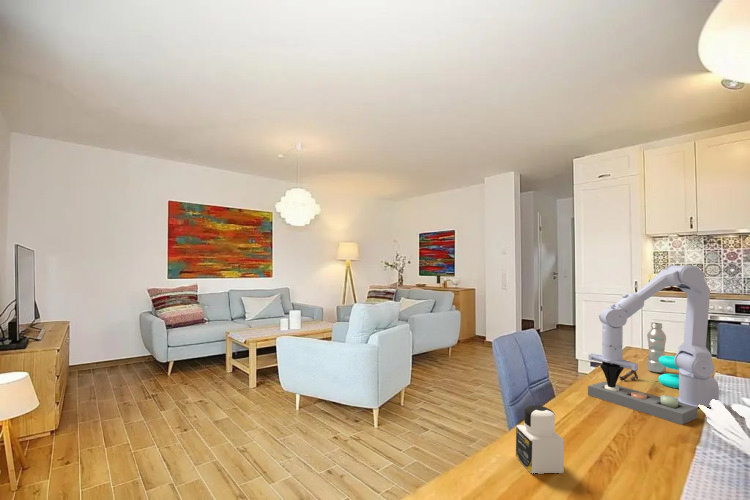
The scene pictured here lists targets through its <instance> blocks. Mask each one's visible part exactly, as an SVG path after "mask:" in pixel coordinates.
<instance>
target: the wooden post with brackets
mask: <svg viewBox="0 0 750 500" xmlns="http://www.w3.org/2000/svg"><path fill="white" fill-rule="evenodd" d="M637 371H638V370H635V371H634V370H631V369H630V371H628V372H627V373H626V374H624V375H619V377H618V378H619V379H620V381H622V380H624V381H623V382H626V380H627V379H628V378H629V377H630V381H635V380H636V379H639V376H638V374H637ZM633 375H634V376H633Z"/></svg>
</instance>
